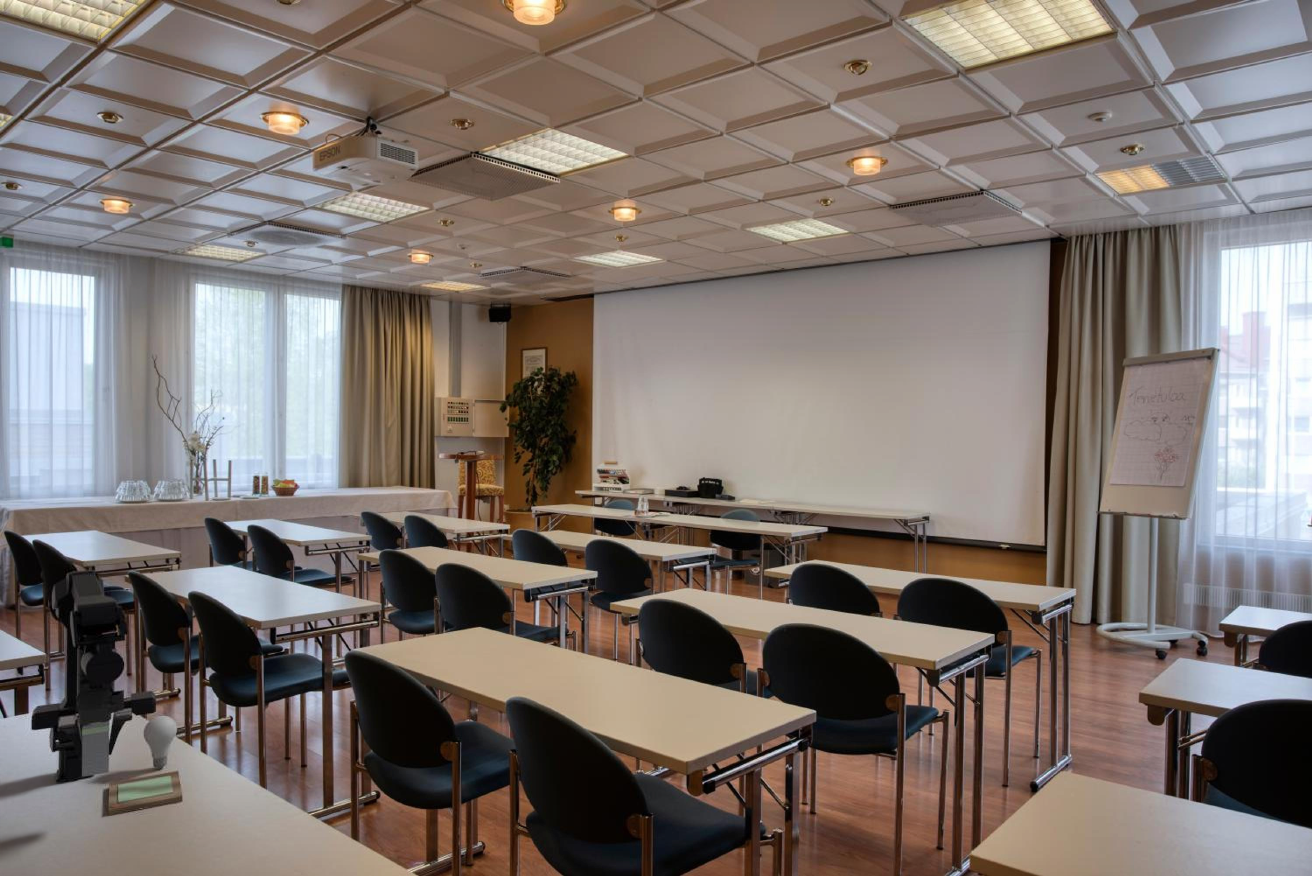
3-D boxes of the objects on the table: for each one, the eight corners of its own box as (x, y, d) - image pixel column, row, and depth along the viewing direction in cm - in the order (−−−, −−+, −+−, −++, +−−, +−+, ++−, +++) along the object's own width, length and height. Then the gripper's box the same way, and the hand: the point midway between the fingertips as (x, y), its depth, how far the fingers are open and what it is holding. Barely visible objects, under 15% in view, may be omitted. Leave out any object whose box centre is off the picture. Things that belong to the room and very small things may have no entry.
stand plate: (109, 788, 170) (109, 782, 170) (178, 775, 177) (178, 769, 177) (108, 815, 158) (108, 809, 158) (182, 801, 165) (182, 795, 165)
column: (82, 769, 156) (82, 720, 156) (109, 764, 158) (109, 716, 158) (81, 777, 153) (81, 726, 153) (108, 772, 155) (109, 722, 155)
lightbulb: (142, 776, 176) (142, 723, 176) (144, 765, 181) (144, 714, 181) (176, 771, 179) (176, 719, 179) (177, 760, 184) (177, 710, 184)
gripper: (28, 691, 143) (28, 783, 144) (157, 675, 153) (156, 761, 154) (34, 674, 153) (33, 761, 153) (155, 660, 163) (154, 741, 163)
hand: (95, 756), depth 155 cm, fingers closed on column, 4 cm apart
